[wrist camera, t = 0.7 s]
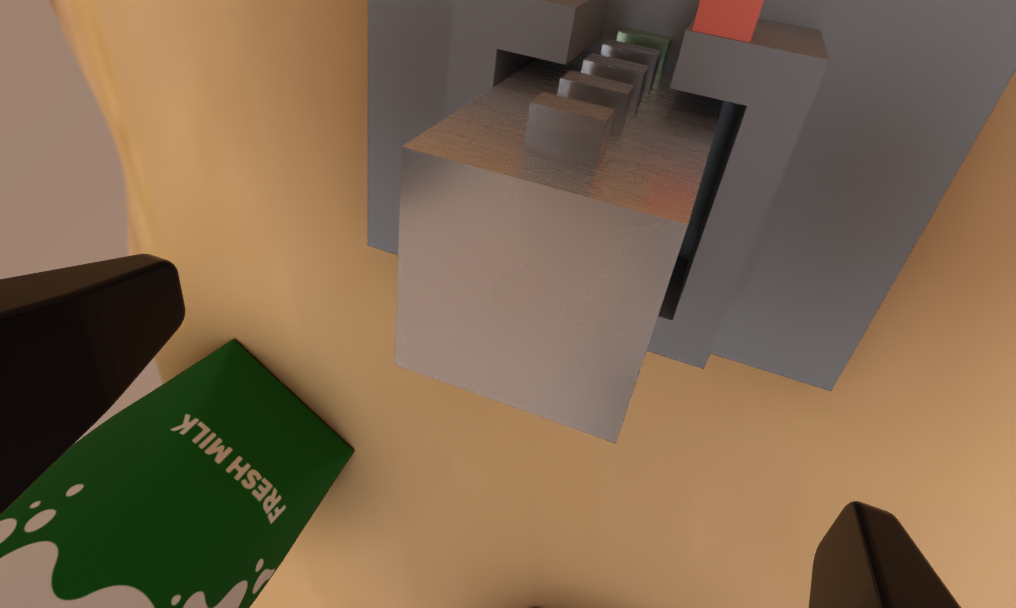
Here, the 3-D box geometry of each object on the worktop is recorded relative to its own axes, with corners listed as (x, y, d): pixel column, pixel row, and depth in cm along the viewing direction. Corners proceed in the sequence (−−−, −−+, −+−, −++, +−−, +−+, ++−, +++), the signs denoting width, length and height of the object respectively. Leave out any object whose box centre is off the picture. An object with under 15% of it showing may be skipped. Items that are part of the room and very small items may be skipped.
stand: (828, 369, 18) (839, 471, 14) (383, 232, 21) (311, 292, 17) (1050, -29, 12) (1147, -3, 9) (389, -139, 15) (284, -150, 12)
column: (677, 242, 16) (615, 443, 10) (530, 201, 17) (394, 364, 11) (739, 52, 14) (705, 172, 7) (562, 14, 14) (403, 96, 8)
